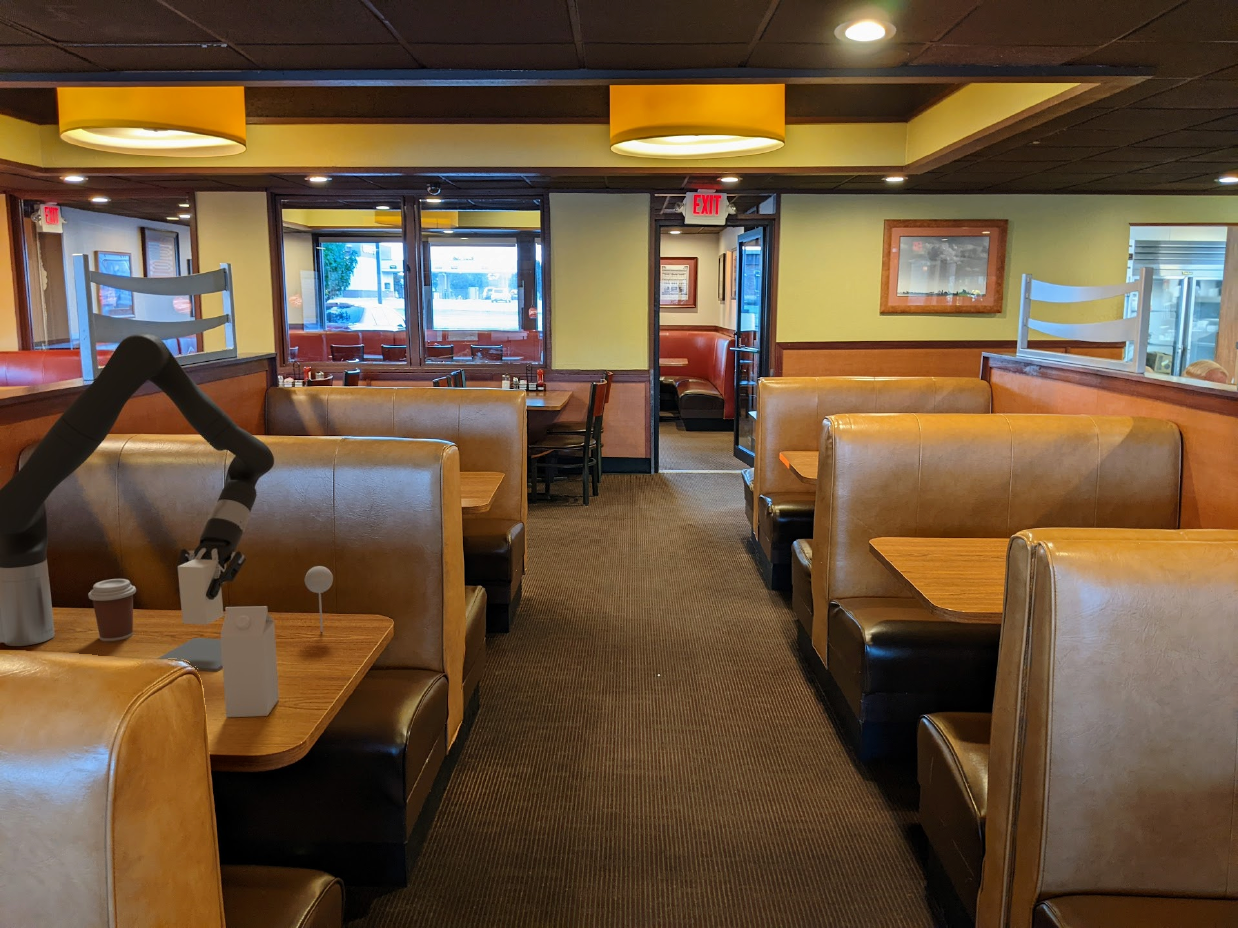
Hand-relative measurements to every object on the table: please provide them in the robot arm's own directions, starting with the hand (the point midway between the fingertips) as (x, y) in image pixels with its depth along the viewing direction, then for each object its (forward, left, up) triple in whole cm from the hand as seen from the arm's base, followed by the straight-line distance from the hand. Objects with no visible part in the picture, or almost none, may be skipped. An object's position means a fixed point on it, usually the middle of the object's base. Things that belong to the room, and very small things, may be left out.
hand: (195, 596), depth 184 cm
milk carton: (+24, -20, -13) cm, 34 cm away
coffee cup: (-26, +9, -13) cm, 31 cm away
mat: (0, +2, -13) cm, 13 cm away
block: (0, +2, -5) cm, 6 cm away
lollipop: (+17, +19, -13) cm, 29 cm away
